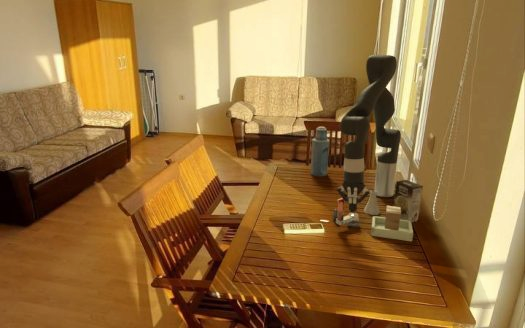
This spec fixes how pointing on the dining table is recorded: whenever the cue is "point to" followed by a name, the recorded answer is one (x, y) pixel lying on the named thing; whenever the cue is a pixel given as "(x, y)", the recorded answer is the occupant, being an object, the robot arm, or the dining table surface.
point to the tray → (380, 231)
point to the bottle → (320, 153)
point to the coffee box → (408, 199)
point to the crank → (340, 214)
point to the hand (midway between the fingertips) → (352, 211)
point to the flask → (372, 204)
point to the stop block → (392, 217)
